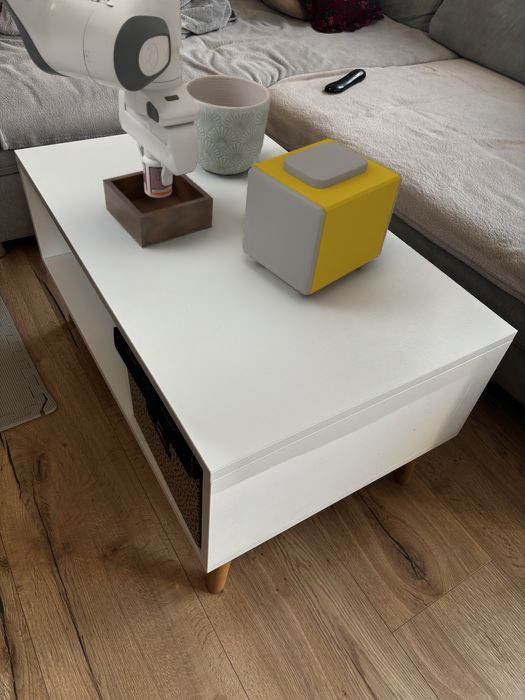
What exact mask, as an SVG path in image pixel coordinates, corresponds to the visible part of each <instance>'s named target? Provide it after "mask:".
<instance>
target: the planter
mask: <svg viewBox="0 0 525 700" xmlns="http://www.w3.org/2000/svg"><path fill="white" fill-rule="evenodd" d="M184 84H185V86H186V88H187V91H188V92H189V94H190V96H191V97H192V99H193V100H194V102H195V103H196V104H197V106H198V108H199V119H198V120H196V121H193V122H194V123H195V125H196V128H197V135H198V153H197V165H198V166H200V167H201V168H203V169H204V170H206V171H208V172H210V173H213V174H218V175H236V174H240V173H243V172H245V171H247V170H250V168H252V165H253V164H256V162H257V161H258V159H259V157H260V155H261V154H262V153H261V152H262V149H263V146H264V141H265V140H264V139H265V135H266V128H267V123H268V116H269V113H270V112H269V110H270V105H271V99H272V95H271V94H272V93H271V91H270V90H269V89H268V88H267V87H266V86H265V85H263V84H262V83H260V82H258V81H255V80H253V79H250V78H247V77H242V76H237V75H227V74H209V75H202V76H197V77H194V78H192V79H190V80H188V81H187V82H185V83H184Z"/></svg>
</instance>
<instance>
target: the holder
mask: <svg viewBox="0 0 525 700" xmlns="http://www.w3.org/2000/svg"><path fill="white" fill-rule="evenodd" d="M172 177H173V182H172V193H171V194H170V195H169V196H166V197H163V198H154V197H150V196H148V195H147V194H146V193H145V188H144V176H143V170H140V171H135V172H131V173H130V172H129V173H126V174H122V175H117V176H113V177H109V178H105V179H102V185H103V192H104V202H105V208H106V210H107V211H108V212H109V214H110V215H111V216H112V217H113V218H114V219H115V220H116V221H117V222H118V223H119V224H120V225H121V227H122V228H123V229H124V231H126V232H127V233H128V235H130V236H131V238H132V239H133V240H134V241H135V243H136V244H138V245H139V246H140V247H141V248H142V249H144V248H147V247H150V246H153V245H156V244H160V243H162V242H167V241H170V240H173V239H176V238H179V237H182V236H183V237H184V236H186V235H190V234H192V233H197V232H199V231H202V230H206V229H209V228H212V227H213V213H214V211H213V210H214V209H213V208H214V197H212V195H210V194H209V193H208V192H206V191H205V189H203V187H201V186H200V185H198V183H196V182H195V181H194V180H193V179H191V178H190V177H189V176H188V175H187V174H183V175H177V176H176V175H174V174H173V175H172Z"/></svg>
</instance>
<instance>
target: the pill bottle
mask: <svg viewBox="0 0 525 700" xmlns="http://www.w3.org/2000/svg"><path fill="white" fill-rule="evenodd" d="M144 154H145V155H144V156H143V158H142V157H141V164H142V163H143V166H142V171H143V176H144V188H145V193H146V194H147V195H148V196H150V197H154V198H163V197H166V196H169V195H170V194H171V193H172V184H171V185H167V186H164V185H163V184H162V183H161V182H160V181H159V173H160V172H162V169H163V167H161V162H160V161H158V160H157V159H156V158H155V157H154V156H153V155H152V154H150V153H149V151H148V149H147V148H146V147H144Z"/></svg>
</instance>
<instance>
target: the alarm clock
mask: <svg viewBox="0 0 525 700" xmlns="http://www.w3.org/2000/svg"><path fill="white" fill-rule="evenodd" d="M402 183H403V177H402V174H401V173H400V172H399V171H397V170H394V169H392V168H391V167H389V166H386V165H385V164H382V163H381V162H380V161H377V160H375V159H373V158H371V157H369V156H367V155H365V154H363V153H361V151H358V150H356V149H354V148H352V147H351V146H348V145H346V144H345V143H342V142H340V141H338V140H336V139H334V138H329V137H328V138H326V139H322V140H320V141H316V142H314V143H311V144H308V145H306V146H303V147H300V148H297V149H293V150H291V151H289V152H286V153H283V154H279V155H277V156H274V157H270V158H267V159H265V160H262V161H259V162H257V163H256V162H255V163H254V164H253V165H252V166H251V167H250V168H249V169H248V171H247V186H246V196H245V198H246V199H245V209H244V210H245V211H244V223H243V237H242V250H243V252H244V253H245V254H246V255H248V256H249V257H250V258H252V259H253V260H255V262H257V263H259V264H260V265H261V266H263V267H264V268H265V269H267V270H268V271H269V272H271V273H272V274H274V275H275V276H276V277H278V278H279V279H281V280H282V281H284V282H285V283H286V284H288V286H290V287H291V288H293V289H295V290H296V291H297V292H299V293H300V294H302V295H305V296H307V295H309V296H310V295H312V294H314V293H316V292H317V291H319V290H320V289H323V288H324V287H326V286H328V285H329V284H331V283H334V282H335V281H337V280H339V279H340V278H342V277H344V276H347V275H348V274H350V273H352V272H353V271H355V270H356V269H358V268H360V267H362V266H364V265H366V264H368V263H369V262H371V261H373V260H374V259H377V258H378V257H379V256H380V255H381V253H382V250H383V246H384V244H385V239H386V237H387V233H388V229H389V226H390V222H391V219H392V215H393V213H394V209H395V206H396V203H397V199H398V195H399V192H400V190H401V189H400V188H401V186H402Z"/></svg>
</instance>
